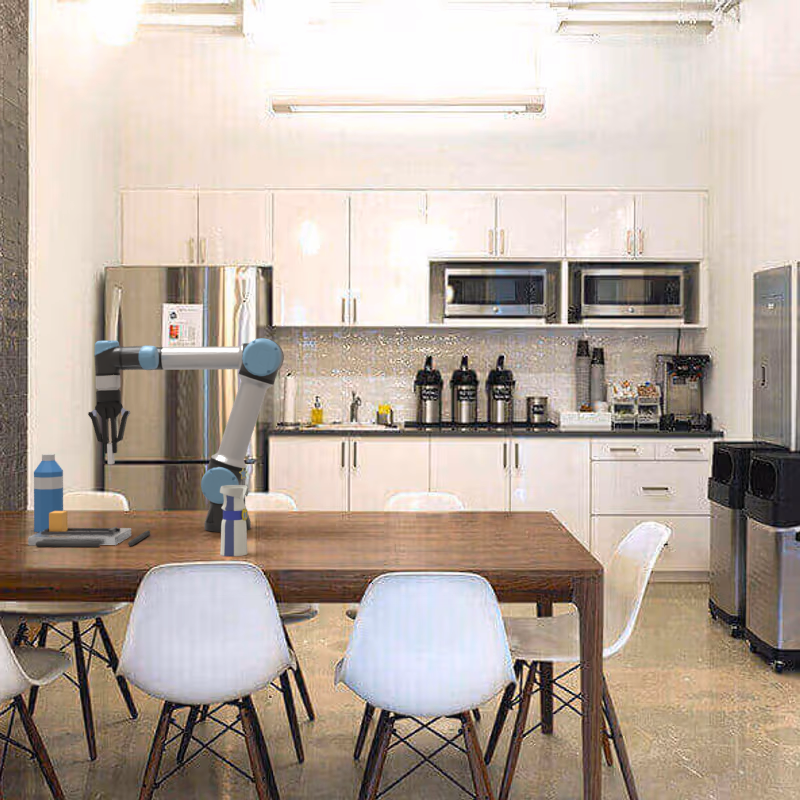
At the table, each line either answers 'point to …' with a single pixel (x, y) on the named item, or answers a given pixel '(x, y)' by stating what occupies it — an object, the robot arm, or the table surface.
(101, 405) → the robot arm
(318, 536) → the table surface
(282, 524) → the table surface
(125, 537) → the panel
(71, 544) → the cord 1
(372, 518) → the table surface
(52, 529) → the matte orange cube
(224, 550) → the white tall piece
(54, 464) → the water bottle
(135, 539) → the rounded gray dowel
